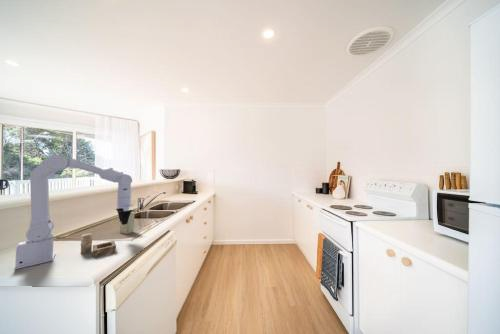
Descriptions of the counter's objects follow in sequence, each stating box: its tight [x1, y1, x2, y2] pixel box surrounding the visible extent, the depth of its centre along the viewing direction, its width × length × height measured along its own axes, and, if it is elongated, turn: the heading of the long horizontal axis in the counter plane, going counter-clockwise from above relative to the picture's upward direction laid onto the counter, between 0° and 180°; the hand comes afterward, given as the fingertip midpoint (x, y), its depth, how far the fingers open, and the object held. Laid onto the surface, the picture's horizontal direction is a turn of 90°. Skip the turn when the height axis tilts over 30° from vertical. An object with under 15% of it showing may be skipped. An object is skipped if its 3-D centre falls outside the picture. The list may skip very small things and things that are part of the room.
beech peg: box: [80, 233, 93, 255], centre depth 78 cm, size 4×4×8 cm
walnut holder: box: [92, 240, 117, 258], centre depth 79 cm, size 8×8×3 cm
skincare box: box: [119, 211, 135, 235], centre depth 105 cm, size 6×4×12 cm
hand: (123, 222), depth 90 cm, fingers open, 7 cm apart
